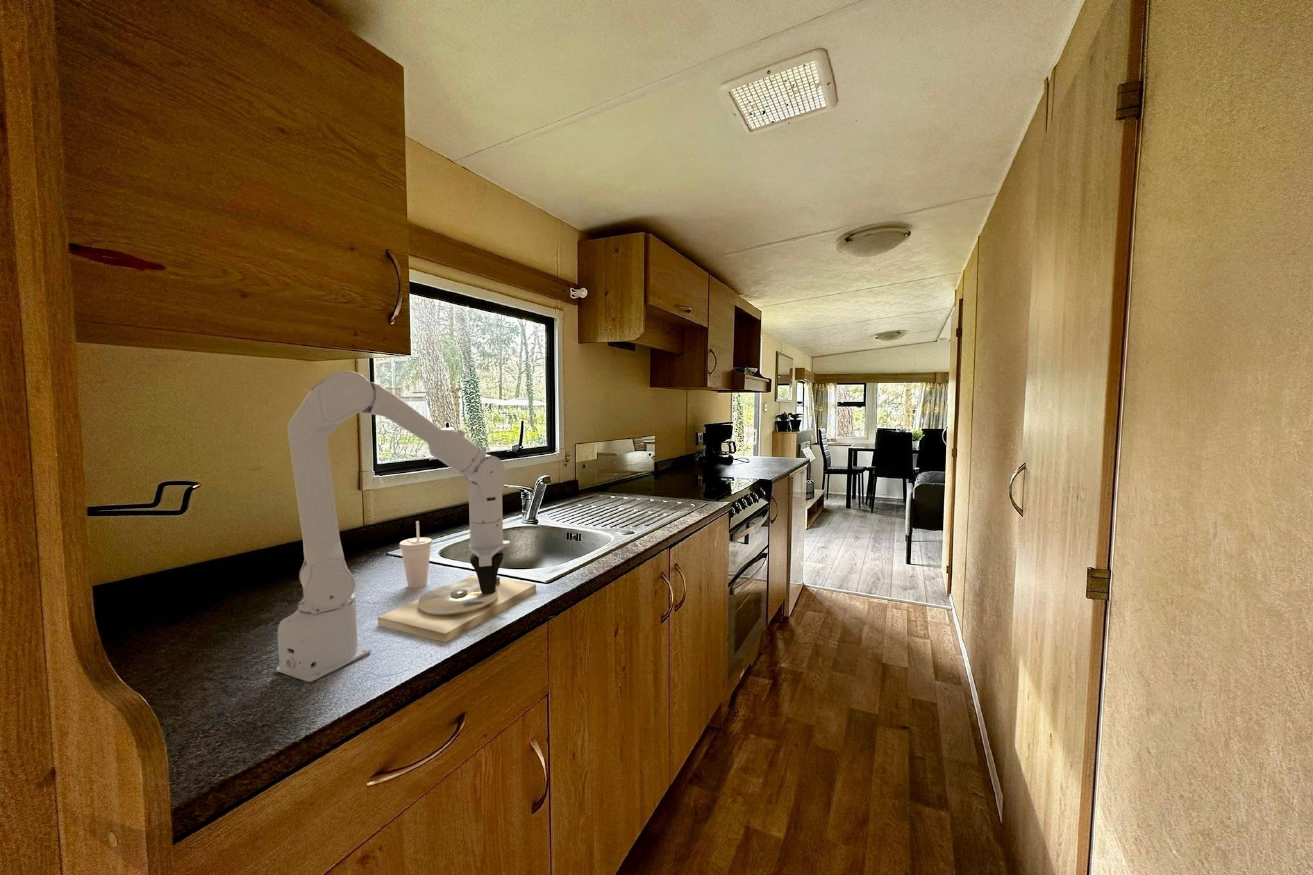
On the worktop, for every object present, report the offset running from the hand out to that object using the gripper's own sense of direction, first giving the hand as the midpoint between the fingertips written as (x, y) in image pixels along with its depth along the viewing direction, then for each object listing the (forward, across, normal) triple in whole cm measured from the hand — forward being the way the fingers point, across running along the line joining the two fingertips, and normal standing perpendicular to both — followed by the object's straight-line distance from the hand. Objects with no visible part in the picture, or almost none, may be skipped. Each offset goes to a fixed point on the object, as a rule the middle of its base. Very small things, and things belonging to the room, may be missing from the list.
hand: (488, 592), depth 91 cm
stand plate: (+4, +5, +6) cm, 9 cm away
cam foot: (+3, +5, +6) cm, 8 cm away
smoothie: (+5, +21, +15) cm, 27 cm away
